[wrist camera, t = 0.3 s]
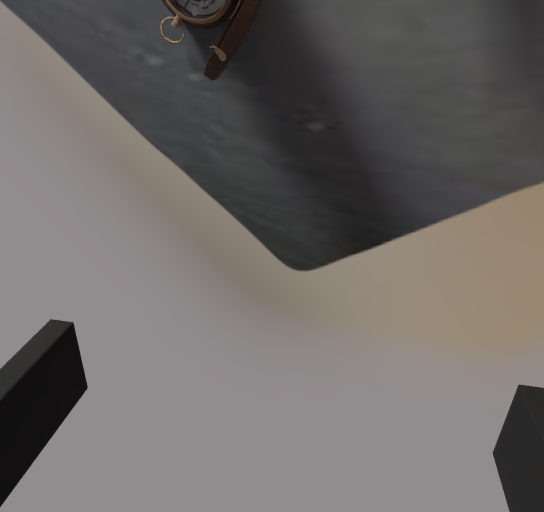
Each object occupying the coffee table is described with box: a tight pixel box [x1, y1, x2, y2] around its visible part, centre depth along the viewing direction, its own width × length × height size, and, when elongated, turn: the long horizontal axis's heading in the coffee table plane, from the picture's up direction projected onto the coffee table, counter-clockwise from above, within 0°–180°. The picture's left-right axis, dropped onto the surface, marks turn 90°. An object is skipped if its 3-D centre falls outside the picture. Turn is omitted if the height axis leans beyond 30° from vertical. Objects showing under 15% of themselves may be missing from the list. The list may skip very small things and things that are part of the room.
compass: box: [161, 0, 261, 81], centre depth 30 cm, size 8×8×7 cm
